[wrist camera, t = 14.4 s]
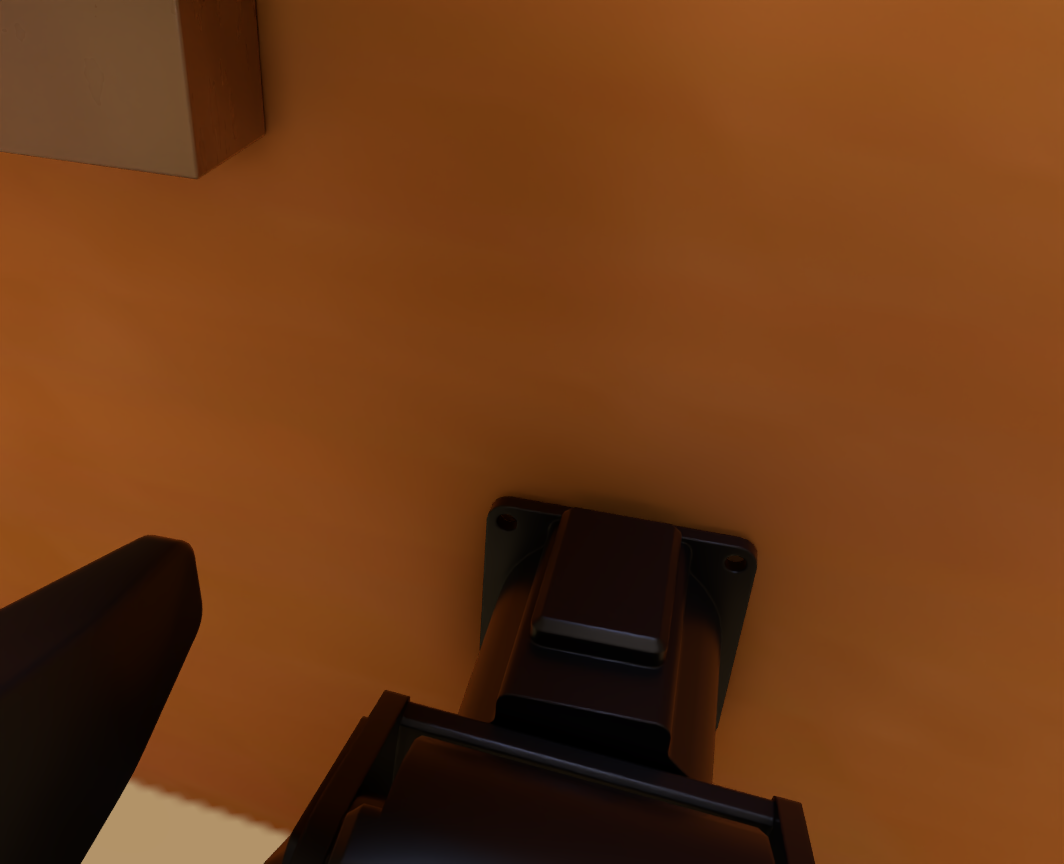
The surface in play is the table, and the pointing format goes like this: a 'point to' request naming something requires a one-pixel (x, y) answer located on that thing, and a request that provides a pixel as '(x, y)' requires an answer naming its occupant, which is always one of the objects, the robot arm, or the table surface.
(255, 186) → the table surface
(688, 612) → the robot arm
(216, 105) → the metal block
